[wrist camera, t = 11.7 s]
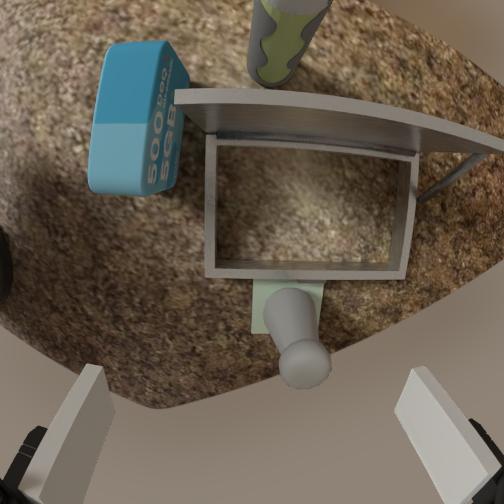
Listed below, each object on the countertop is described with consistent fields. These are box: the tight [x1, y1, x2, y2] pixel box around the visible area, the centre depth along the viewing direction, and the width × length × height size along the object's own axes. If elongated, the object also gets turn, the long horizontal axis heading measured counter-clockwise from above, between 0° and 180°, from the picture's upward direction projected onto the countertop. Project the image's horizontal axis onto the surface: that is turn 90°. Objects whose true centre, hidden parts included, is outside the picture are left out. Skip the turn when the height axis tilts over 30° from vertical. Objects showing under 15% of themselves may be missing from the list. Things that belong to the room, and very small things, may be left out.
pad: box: [251, 279, 324, 334], centre depth 35 cm, size 8×8×1 cm
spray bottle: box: [247, 0, 333, 87], centre depth 18 cm, size 5×5×20 cm
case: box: [174, 88, 504, 283], centre depth 24 cm, size 23×16×17 cm
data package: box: [88, 41, 190, 197], centre depth 24 cm, size 12×4×12 cm, turn 173°
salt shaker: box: [263, 287, 332, 389], centre depth 29 cm, size 6×6×13 cm
